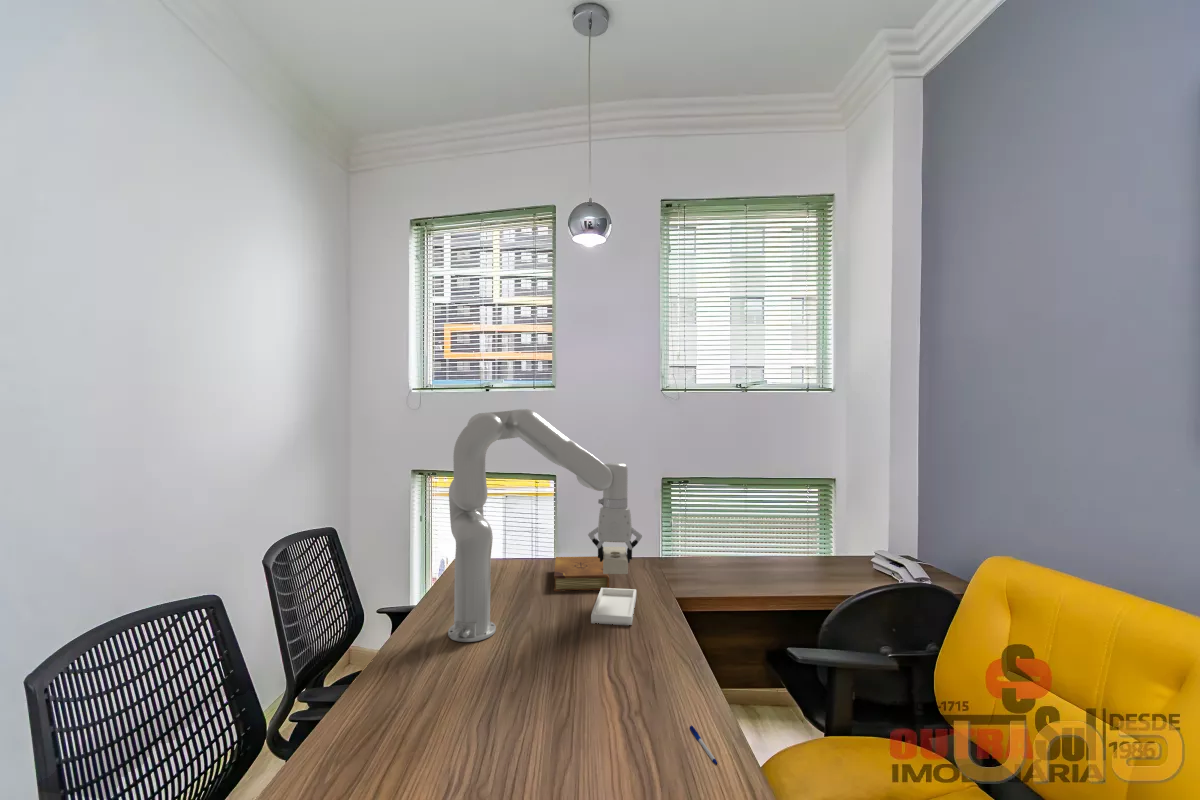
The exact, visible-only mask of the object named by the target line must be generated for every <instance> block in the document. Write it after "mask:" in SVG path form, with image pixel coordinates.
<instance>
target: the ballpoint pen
mask: <svg viewBox="0 0 1200 800" xmlns="http://www.w3.org/2000/svg"><path fill="white" fill-rule="evenodd" d="M689 729H690V731H691V733H692V734H693V736H694V737H695V739H696V740H697V741H698V743H699V744H700V746H701V747H702V748H703V750H704V751H705V752H706V754H707V755H708V756H709V758H710V760H711V761H712V762H713V764H715V765H717V764H718V761H717V759H716V758H715V756H714V755H713V754H712V752H711V751H710V749H709V748H708V747H707V745H706V744H705V742H704V741H703V739H702V738H701V736H700V735H699V732H698V731H697V729H696V728H695V727H694V726H693V725H692V724H690V726H689Z"/></svg>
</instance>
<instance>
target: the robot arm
mask: <svg viewBox="0 0 1200 800" xmlns="http://www.w3.org/2000/svg"><path fill="white" fill-rule="evenodd" d="M515 438H516V439H517V438H519V439H521V440H522V441H524V442H525V443H526V444H527V445H528V446H530V447H532V448H533V449H534V450H535V451H537V452H538V453H539V454H540V455H541V456H543V457H544V458H546V460H548V461H550V462H551V463H553V464H555V465H557V466H560V467H562V468H564V469H565V470H568V471H570V472H571V473H572V474H574V475H575V476H576V481H578V483H579V484H580V485H581V486H583V487H586V488H588V489H591V490H593V491H597V492H602V498H600V499H598V501H597V502H598V504H600V505H601V507H600V508H599V509H600V510H599V514H598V526H597V527H596V528H594V529H593V530H591V531H590V532H589V533H588V534H587V535H588V537H589V539H590V540H591V543H593V545H595V547H596V548H597V556H598V558H600V562H602V561H603V547H604V546H603V544H604V542H605V543H625V545H626V546H627V549H626V553H627V559H628V564H630V562H631V560H633V549H634V548H635V547H636V545H638V543H639V542H640V541H641V539H642V538H643V535H642V534H641V533H640V532H639V531H637V530H636V529H634V528H633V526H632V525H633V524H632V516H631V515H632V514H631V509H630V507H628V480H629V479H628V475H629V474H628V473H629V472H628V471H629V469H628V465H626V464H625V463H624V462H623V463H622V462H607V463H603V461H601V460H600V459H599V458H597V457H596V456H595V455H593V454H592V453H590V452H589V451H587V450H586V449H585V448H583V447H582V446H580V445H579V444H578V443H576V442H575V441H574V440H572V439H571V438H569V437H567V436H566V434H564V433H562V432H561V431H560V430H558V429H557V428H556V427H554V426H553V425H552V424H551V423H549V421H548V420H547V419H545V418H543V417H542V416H541V415H540V414H538V413H537V412H536V411H534V410H531V409H528V408H524V409H523V408H520V409H513V410H511V409H510V410H506V411H490V412H481V413H480V412H479V413H477V414H473V416H471V418H469V420H468V422H467V425H466V426H465V427H464V428H463V429H462V430H461V432H460V433H459V435H458V437H457V439H456V441H455V443H454V446H453V447H454V448H453V456H452V457H453V458H452V459H453V462H452V463H453V480H452V481H451V482H450V485H449V488H448V503H449V506H448V507H449V520H450V530H451V534H452V535H453V539H454V540H455V555H454V606H453V607H454V609H453V611H454V613H453V614H454V617H453V618H454V619H453V624H452V625H450V627H449V628H448V630H447V636H448V637H449V639H451V640H452V641H456V642H459V643H460V642H461V643H473V642H479V641H484V640H486V639H488V638H490V637H492V636H493V635H494V634H495V633H496V629H497V627H496V624H495V622H494V621H491V567H492V566H491V564H492V563H491V561H492V559H491V558H492V548H493V530H492V527H491V525H490V523H489V522H488V520H486V518H485V517H484V506H485V504H486V502H487V499H488V486H487V474H486V473H487V471H486V454H487V452H488V449H489V447H490V446H491V445H492V444H493V443H495V442H496V441H499V440H500V441H501V440H508V439H509V440H510V439H515ZM596 534H597V538H596V536H595V535H596ZM632 535H634V536H635V537H636V538H635V539H634V540H633V541H632V537H633V536H632Z"/></svg>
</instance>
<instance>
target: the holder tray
mask: <svg viewBox="0 0 1200 800" xmlns="http://www.w3.org/2000/svg"><path fill="white" fill-rule="evenodd" d="M598 592H599V593H598V595H597V598H596V601H595V602H594V606H593V607H592V611H591V615H590V623H591V624H595V623H597V625H612V624H613V626H615V625H616V626H629V625H633V621H634V615H633V614H634V613H635V609H634V608H635V607H636V601H637V589H633V588H632V589H631V588H614V587H613V588H611V587H609V588H601V589H600V591H598ZM598 623H599V624H598Z"/></svg>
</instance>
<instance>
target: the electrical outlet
mask: <svg viewBox="0 0 1200 800" xmlns="http://www.w3.org/2000/svg"><path fill="white" fill-rule="evenodd" d="M603 574H609V575H628V574H629V563H628V559H627V549H626V546H603Z"/></svg>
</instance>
